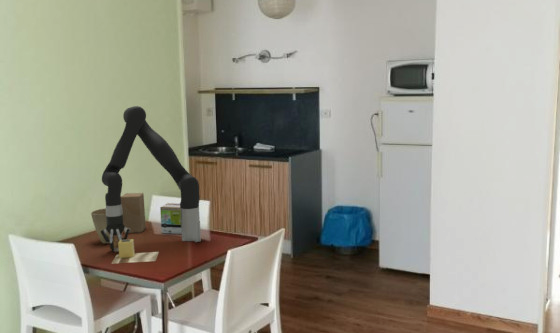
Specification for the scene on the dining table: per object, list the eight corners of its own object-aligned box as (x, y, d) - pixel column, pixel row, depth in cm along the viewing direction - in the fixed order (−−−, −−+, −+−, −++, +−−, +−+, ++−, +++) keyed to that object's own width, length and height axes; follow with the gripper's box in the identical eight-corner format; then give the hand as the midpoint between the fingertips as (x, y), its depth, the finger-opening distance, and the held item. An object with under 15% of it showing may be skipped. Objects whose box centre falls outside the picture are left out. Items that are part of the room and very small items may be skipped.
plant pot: (113, 236, 294) (110, 206, 291) (129, 240, 284) (127, 209, 282) (87, 242, 282) (85, 212, 280) (104, 247, 273) (101, 215, 271)
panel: (159, 254, 259) (158, 251, 258) (155, 263, 245) (155, 260, 245) (117, 256, 257) (116, 254, 256) (111, 266, 243) (111, 263, 243)
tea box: (161, 233, 295) (159, 206, 293) (168, 229, 305) (167, 202, 303) (187, 234, 292) (186, 207, 290) (194, 229, 302) (193, 203, 300)
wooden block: (141, 232, 299) (138, 196, 296) (122, 233, 299) (120, 196, 296) (146, 228, 309) (143, 192, 306) (128, 228, 309) (125, 193, 306)
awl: (121, 252, 264) (119, 233, 263) (119, 253, 261) (118, 235, 260) (114, 252, 264) (113, 234, 262) (113, 254, 261) (111, 235, 259)
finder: (134, 253, 256) (133, 238, 255) (133, 257, 251) (131, 241, 250) (121, 254, 256) (120, 239, 255) (119, 258, 251) (118, 242, 250)
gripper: (97, 216, 255) (100, 253, 258) (128, 215, 257) (131, 251, 259) (100, 213, 263) (103, 248, 265) (130, 211, 264) (133, 246, 267)
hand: (117, 249), depth 262 cm, fingers closed on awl, 3 cm apart
